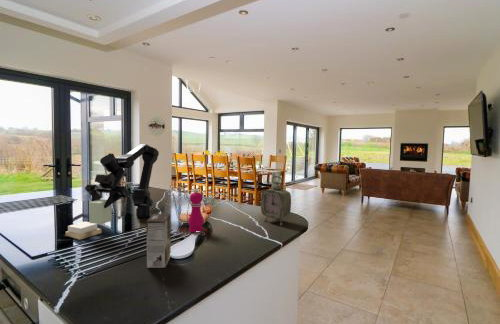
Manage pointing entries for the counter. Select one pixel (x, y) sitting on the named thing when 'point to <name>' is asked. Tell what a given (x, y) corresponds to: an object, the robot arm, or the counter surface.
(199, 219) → the pepper mill
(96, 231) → the bottom block
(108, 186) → the robot arm
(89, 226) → the top block
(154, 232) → the coffee box
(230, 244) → the counter surface
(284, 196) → the tabletop clock
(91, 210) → the sage block
